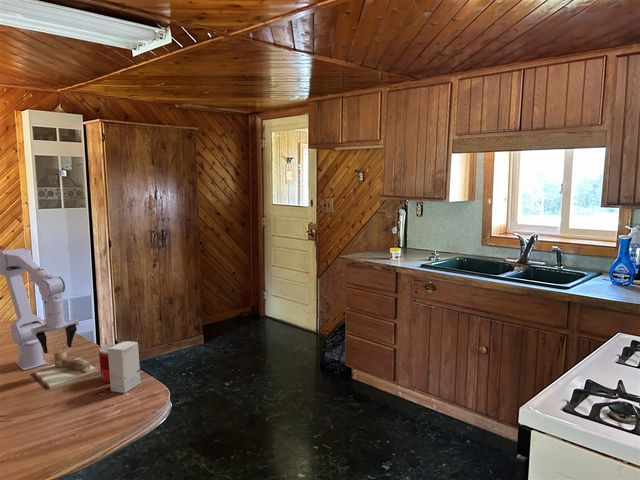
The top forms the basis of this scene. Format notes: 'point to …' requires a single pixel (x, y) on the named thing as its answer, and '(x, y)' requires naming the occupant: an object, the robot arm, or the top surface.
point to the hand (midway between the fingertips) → (57, 349)
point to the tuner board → (63, 374)
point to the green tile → (58, 379)
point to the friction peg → (70, 362)
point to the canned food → (104, 363)
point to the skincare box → (124, 366)
